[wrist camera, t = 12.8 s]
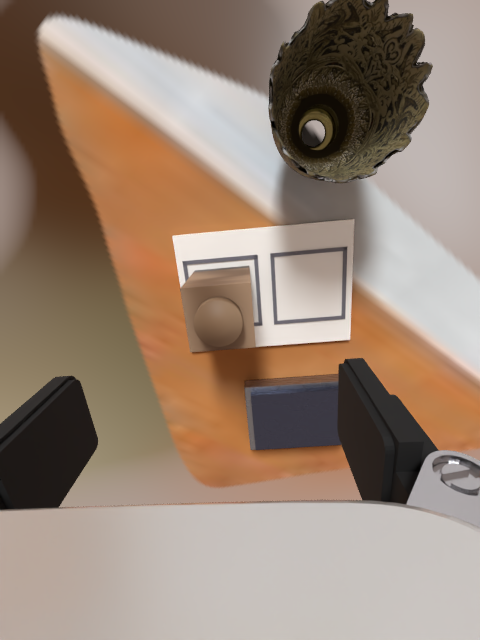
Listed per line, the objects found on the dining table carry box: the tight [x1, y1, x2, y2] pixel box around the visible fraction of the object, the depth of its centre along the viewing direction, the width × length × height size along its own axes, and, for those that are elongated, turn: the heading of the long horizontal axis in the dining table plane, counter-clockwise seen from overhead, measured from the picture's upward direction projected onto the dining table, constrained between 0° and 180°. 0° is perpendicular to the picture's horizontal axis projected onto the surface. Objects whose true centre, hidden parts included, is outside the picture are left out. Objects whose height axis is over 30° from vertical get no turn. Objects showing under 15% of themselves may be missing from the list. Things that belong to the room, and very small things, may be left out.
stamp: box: [180, 266, 256, 352], centre depth 22 cm, size 4×4×7 cm
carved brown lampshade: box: [269, 0, 433, 183], centre depth 18 cm, size 8×7×8 cm
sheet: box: [172, 219, 355, 347], centre depth 25 cm, size 14×10×1 cm
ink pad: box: [245, 374, 341, 450], centre depth 28 cm, size 9×7×2 cm
